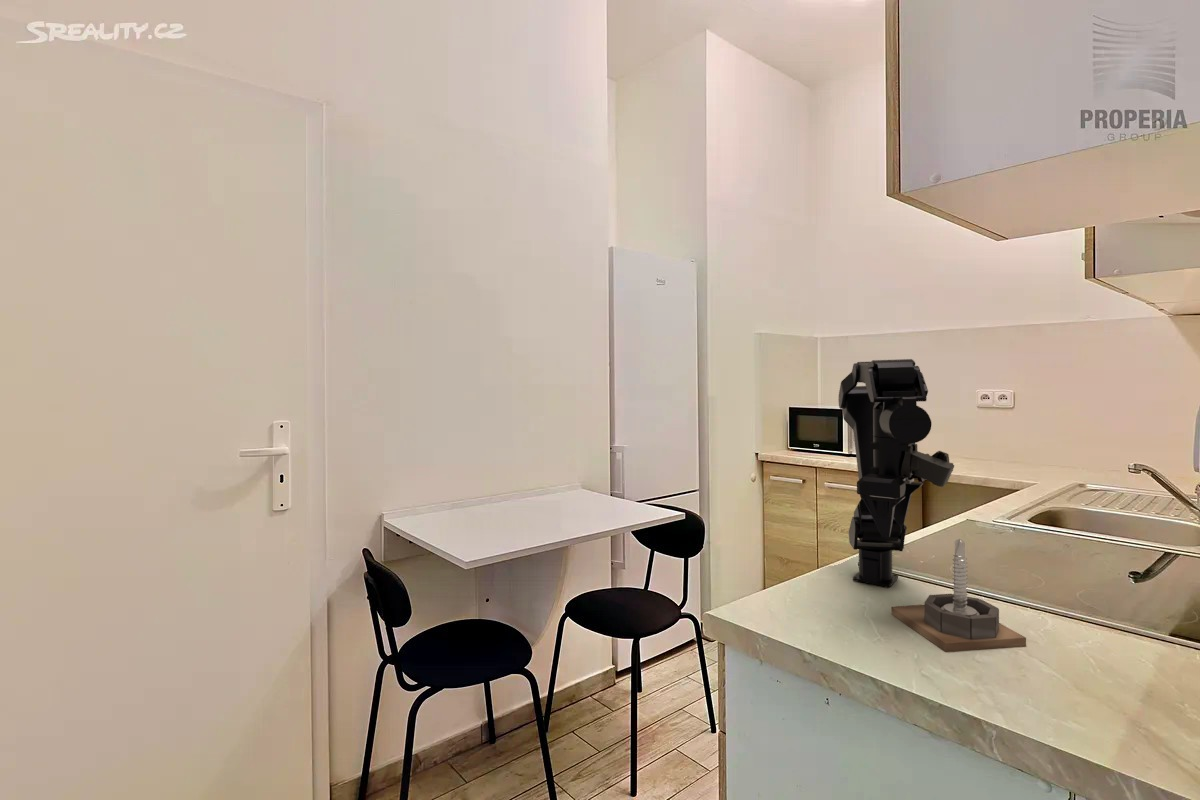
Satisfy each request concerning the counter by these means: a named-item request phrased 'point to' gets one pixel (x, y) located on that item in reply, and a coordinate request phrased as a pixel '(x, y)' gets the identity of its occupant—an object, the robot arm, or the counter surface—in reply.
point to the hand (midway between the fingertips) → (893, 530)
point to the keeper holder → (958, 625)
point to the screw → (960, 583)
